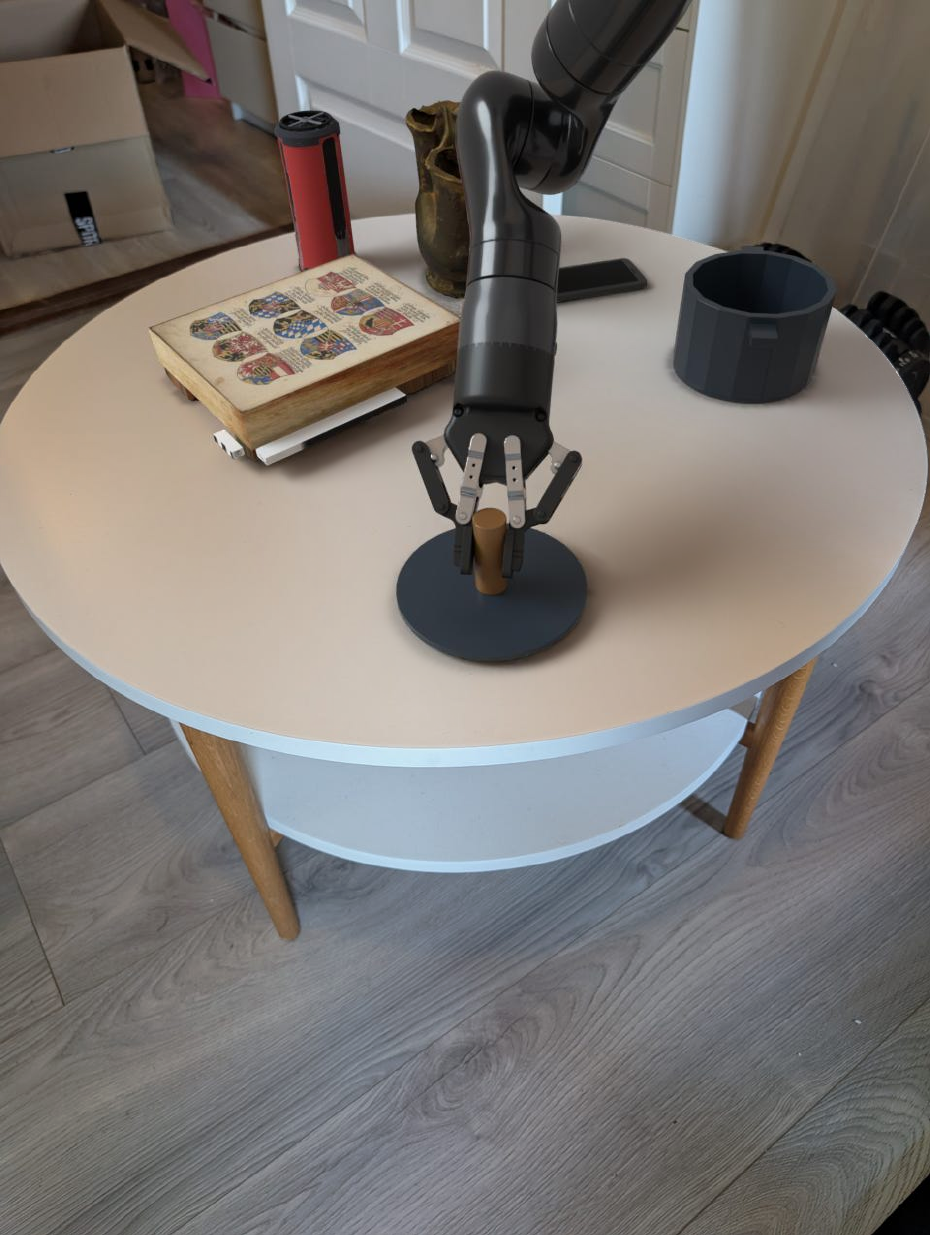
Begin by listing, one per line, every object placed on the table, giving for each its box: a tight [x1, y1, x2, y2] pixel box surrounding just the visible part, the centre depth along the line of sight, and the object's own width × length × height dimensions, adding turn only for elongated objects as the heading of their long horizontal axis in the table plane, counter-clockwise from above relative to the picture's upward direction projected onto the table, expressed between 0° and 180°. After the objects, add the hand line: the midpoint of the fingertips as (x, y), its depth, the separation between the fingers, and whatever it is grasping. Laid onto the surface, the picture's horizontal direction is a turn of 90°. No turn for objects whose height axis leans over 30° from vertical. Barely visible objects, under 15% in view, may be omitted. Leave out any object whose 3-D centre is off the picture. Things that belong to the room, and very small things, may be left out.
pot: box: [672, 245, 838, 405], centre depth 91 cm, size 15×20×10 cm
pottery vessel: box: [404, 100, 470, 298], centre depth 105 cm, size 25×11×20 cm, turn 12°
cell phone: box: [557, 257, 648, 303], centre depth 109 cm, size 7×14×1 cm, turn 104°
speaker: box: [273, 110, 357, 272], centre depth 109 cm, size 8×8×18 cm
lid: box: [395, 507, 588, 662], centre depth 69 cm, size 16×16×8 cm
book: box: [147, 253, 461, 466], centre depth 94 cm, size 25×6×28 cm
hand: (487, 575), depth 68 cm, fingers closed on lid, 2 cm apart
